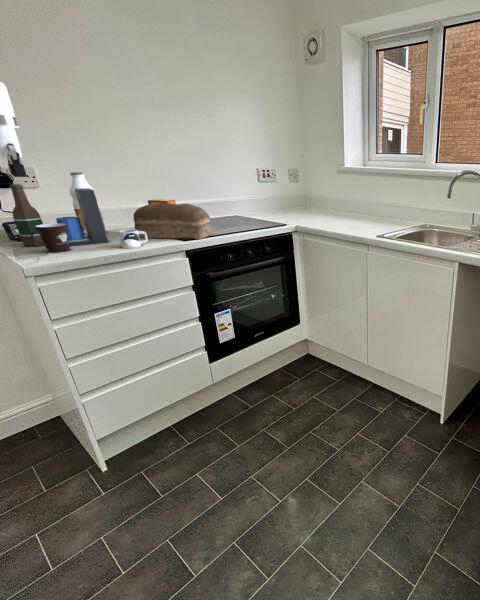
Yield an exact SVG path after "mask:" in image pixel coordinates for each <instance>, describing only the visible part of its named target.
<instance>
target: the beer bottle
mask: <svg viewBox="0 0 480 600" xmlns="http://www.w3.org/2000/svg"><path fill="white" fill-rule="evenodd" d="M9 188H10V189H11V193H12V197H13V200H14V208H13V209H12V218H13V221H14V224H15V226H16V230H17V232H18V235H19V237H20V240H21V243H22V245H23V246H24V247H26V248H37V247H38V248H39V247H46V246H45V245H43V244H40V243H37V242H35V241H34V240H33V239H32V238H31V233H32V232H34V231H38V230H37V228H36V227H35V226H37V225H42V224H44V223H43V220H42V217H41V214H40V213H39V211H38V210H37V209H36V208H35V207H33V206H32V205H31V203H30V202H29V199H28V197H27V194H26V192H25V190H24V185H23V184H20V183H19V184H17V183H16V184H15V183H13V184H9ZM33 237H34V239H35V240H37V241H39V242H41V243H44V242H43V240H42V238H41V236H40V234H39V233H34V235H33Z"/></svg>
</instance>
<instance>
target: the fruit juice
mask: <svg viewBox="0 0 480 600" xmlns="http://www.w3.org/2000/svg"><path fill="white" fill-rule="evenodd" d="M69 175H70V176H71V185H70V188H69V189H68V191H69V195H70V197H71V198H72V208H73V210H74V213H75V217H79V220H80V223H81V226H82V230H83V233H84V236H88V234H87V230H86V227H85V223H84V220H83V217H82V213H81V210H80V206H79V203H78V199H77V196H76V193H75V189H81V188H90V189H92V190H94V192H95V196H96V197H97V195H96V191H95V189H94V187H92V186H91V185H90V184H89V183H88V181H87V180H86V178H85V177H86V176H85V175H86V174H85V172H83V171H82V172H81V171H71V172H69ZM97 203H98V206H99V210H100V213H101V217H102V221H103V224H104V228H105V233H106V232H107V229H106V225H105V222H104V218H103V215H102V211H101V207H100V203H99V202H98V200H97ZM106 234H107V233H106Z"/></svg>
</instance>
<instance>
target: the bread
mask: <svg viewBox="0 0 480 600" xmlns="http://www.w3.org/2000/svg"><path fill="white" fill-rule="evenodd" d="M133 222H134V230H138V231H144V232H146V234H147V238H148V239H170V240H171V239H175V240H176V239H178V240H179V239H180V240H182V239H183V240H201V239H205V238H207V237H210V236H211V235H212V234H213V231H214V230H213V226H212V223H211V216H210V215H209V213H208V212H206V211H205V210H204V209H203V208H202V207H200V206H197V205H193V204H190V203H176V204H171V203H160V204H150V205H149V204H146V205H143V206H141V207H139V208H137V209H136V210H135V211H134V213H133ZM138 235H139V239H141V238H142V239H145V236H144V234H138Z"/></svg>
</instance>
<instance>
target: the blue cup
mask: <svg viewBox="0 0 480 600" xmlns="http://www.w3.org/2000/svg"><path fill="white" fill-rule="evenodd" d="M55 221H56V223H62V224H66V227H67V233H68V239H69V241H75V240H82V239H85V237H84V236H85V235H84V233H83V230H82V226H81V223H80V220H79V217H76V216H61V217H55Z"/></svg>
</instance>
